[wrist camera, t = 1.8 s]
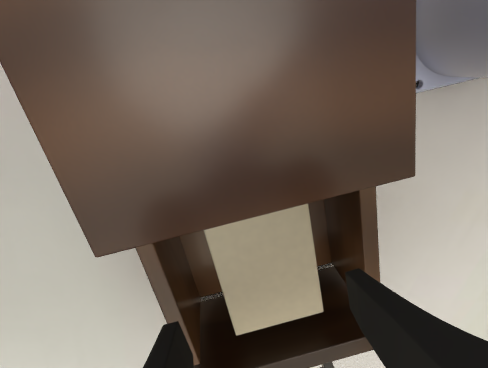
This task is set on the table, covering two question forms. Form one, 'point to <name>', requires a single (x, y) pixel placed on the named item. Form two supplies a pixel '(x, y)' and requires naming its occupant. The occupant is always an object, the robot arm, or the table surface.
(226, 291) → the beige rectangular block
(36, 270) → the table surface
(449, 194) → the table surface
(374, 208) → the drawer
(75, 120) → the cabinet
